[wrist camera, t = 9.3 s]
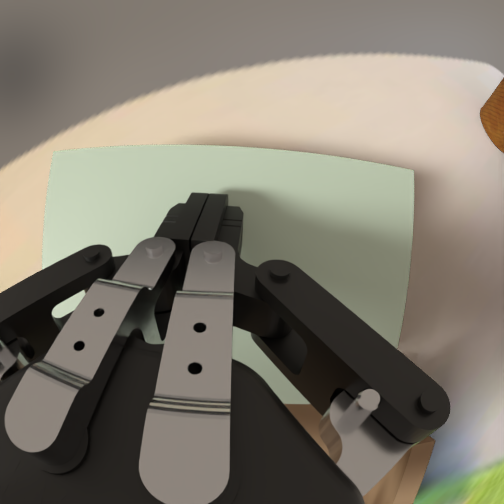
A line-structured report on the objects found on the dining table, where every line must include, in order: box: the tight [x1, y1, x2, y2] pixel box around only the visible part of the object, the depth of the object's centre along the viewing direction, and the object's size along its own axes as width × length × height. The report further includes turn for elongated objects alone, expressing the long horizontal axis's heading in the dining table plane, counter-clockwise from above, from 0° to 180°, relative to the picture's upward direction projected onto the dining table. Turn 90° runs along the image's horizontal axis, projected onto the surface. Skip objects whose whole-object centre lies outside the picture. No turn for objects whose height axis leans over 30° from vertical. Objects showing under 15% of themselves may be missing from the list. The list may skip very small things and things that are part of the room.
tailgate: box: [42, 145, 414, 404], centre depth 14 cm, size 2×19×12 cm
